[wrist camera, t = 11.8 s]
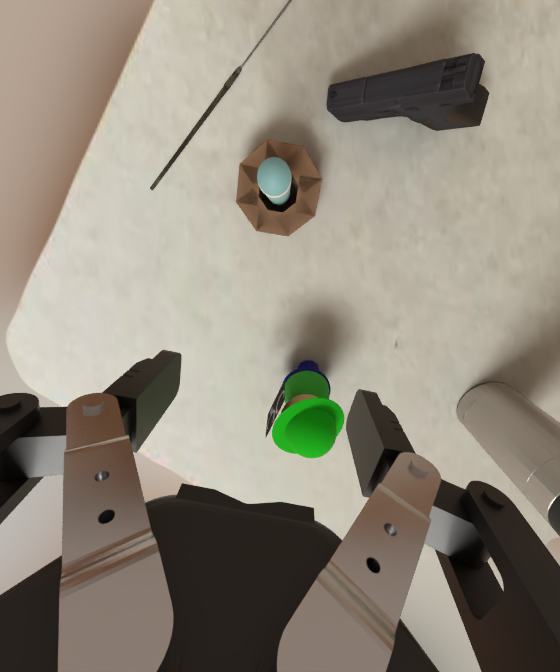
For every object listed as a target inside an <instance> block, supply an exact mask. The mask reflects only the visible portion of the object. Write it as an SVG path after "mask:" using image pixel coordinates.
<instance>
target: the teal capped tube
mask: <svg viewBox="0 0 560 672" xmlns="http://www.w3.org/2000/svg"><path fill="white" fill-rule="evenodd" d="M257 180H258V185H259V187H260V189H261V190H262V192H263V193H264V194H265V195H266V196H267V197H268V198H269V199H270V201H271V202H272V203H273V204H274V205H276V206H283V205H285V204H286V203H287V202H288V201H289V198H290V186H291V171H290V169H289V167H288V165H287V163H286V162H285V161H284V160H282V159H280V158H277V157H271V158H268V159H266V160H264V161H263V162H262V163H261V165H260V167H259V169H258V173H257Z"/></svg>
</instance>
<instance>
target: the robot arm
mask: <svg viewBox="0 0 560 672" xmlns="http://www.w3.org/2000/svg"><path fill="white" fill-rule="evenodd" d="M180 371H181V354H180V353H177V352H172V351H167V350H162V351H161V352H160V353H159V354H158V355H156V356H155V357H154V358H153V359H149V358H147V359H145V360H142V361H140V362H137V363H136V364H135V365H134V366H132V367H131V368H130V369H129V371H127V372H126V373H124V374H123V376H121V377H120V378H119V379H117V380H116V381H115V382H114V383H113V384H112V385H111V386H109V387H108V388H107V389H106V390H105V391H104V392H102V393H92V394H87V395H84V396H81V397H79V398H77V399H75V400H73V401H72V402H71V403H70V404H69V405H68V407H42V408H41V407H40V406H39V400H38V398H37V397H36V396H35V395H32V394H28V393H12V394H6V395H2V396H0V524H1V523H2V522H3V521H4V519H5V518H6V517H7V516H8V515H9V514H10V513H11V512H12V511H13V510H14V509H15V508H16V506H17V505H18V504H19V503H20V502H21V501H22V500H23V499H24V498H25V496H27V494H28V493H29V492H30V491H31V490H32V489H33V488H34V487H35V486H36V485H37V483H38V482H39V481H40V480H41V479H42V478H43V477H44V476H53V475H63V477H64V478H63V534H62V535H63V536H62V540H63V541H62V556H60V557H58V558H57V559H55V560H54V561H52V562H51V563H49V564H48V565H46V566H44V567H43V568H41V569H40V570H38V571H37V572H35V573H34V574H32V575H31V576H29V577H27V578H26V579H24V580H23V581H21V582H20V583H18V584H17V585H15V586H14V587H12V588H10V589H9V590H7V591H6V592H4V593H3V594H1V595H0V672H439V671H438V670H437V668H436V667H435V665H434V664H433V663H432V661H431V660H430V659H429V657H428V656H427V654H426V653H425V652H424V650H423V649H422V648H421V646H420V645H419V644H418V642H417V641H416V639H415V638H414V637H413V635H412V634H411V633H410V631H409V630H408V628H407V627H406V626H405V624H404V623H403V622H402V620H401V619H400V616H401V612H402V610H403V607H404V603H405V600H406V597H407V594H408V591H409V588H410V585H411V582H412V579H413V576H414V573H415V570H416V566H417V563H418V560H419V557H420V554H421V551H422V548H423V545H424V544H426V545H428V546H430V547H432V548H434V549H435V551H436V554H437V556H438V559H439V561H440V564H441V567H442V569H443V572H444V574H445V577H446V579H447V582H448V585H449V588H450V590H451V593H452V595H453V598H454V601H455V603H456V606H457V608H458V611H459V614H460V616H461V619H462V621H463V624H464V627H465V629H466V632H467V635H468V637H469V640H470V642H471V645H472V648H473V650H474V653H475V655H476V658H477V661H478V663H479V666H480V669H481V671H482V672H560V566H559V564H558V563H557V562H556V560H555V559H554V558H553V556H552V555H551V554H550V552H549V551H548V549H547V548H546V547H545V545H544V544H543V543H542V541H541V540H540V538H539V537H538V536H537V534H536V533H535V532H534V530H533V529H532V528H531V526H530V525H529V523H528V522H527V521H526V519H525V518H524V517H523V515H522V514H521V513H520V511H519V510H518V509H517V507H516V506H515V505H514V503H513V502H512V501H511V500H510V499H509V498H508V497H507V496H506V495H505V494H503V493H502V492H501V491H499V490H498V489H496V488H495V487H493V486H491V485H489V484H487V483H484V482H481V481H471V482H470V483H469V484H468V486H467V487H466V489H463V488H460V487H458V486H456V485H453V484H451V483H449V482H446V481H444V480H442V479H441V476H440V473H439V472H438V470H437V469H436V468H435V466H434V465H433V464H432V463H430V462H429V461H428V460H426V459H425V458H423V457H422V456H420V455H417V454H416V453H415V451H414V450H413V448H412V446H411V444H410V442H409V440H408V438H407V436H406V434H405V433H404V432H403V429H402V427H401V425H400V424H399V421H398V419H397V417H396V416H395V414H394V413H393V412H392V411H391V410H390V409H389V408H388V407H387V406H385V405H382V403H381V401H380V399H379V397H378V395H377V393H375V392H370V391H365V390H360V389H359V390H358V391H357V392H356V395H355V398H354V400H353V403H352V406H351V409H350V412H349V414H348V417H347V422H346V431H347V435H348V439H349V443H350V447H351V451H352V455H353V459H354V463H355V467H356V471H357V475H358V479H359V483H360V487H361V491H362V495H363V496H364V497H369V500H368V501H367V503H366V504H365V506H364V507H363V509H362V511H361V512H360V514H359V515H358V517H357V519H356V520H355V522H354V523H353V525H352V526H351V528H350V530H349V531H348V533H347V534H346V536H345V537H344V539H343V541H342V540H341V539H340V538H339V537H338V536H337V535H336V534H335V533H334V532H332V531H331V530H330V529H328V528H327V527H326V526H324V525H322V524H321V523H319V522H317V521H315V520H314V508H311V507H306V506H300V505H295V504H290V503H284V502H274V503H259V504H245V503H243V502H241V501H238V500H236V499H234V498H232V497H230V496H228V495H225V494H223V493H221V492H219V491H217V490H215V489H209V488H204V487H198V486H193V485H187V484H182V485H181V487H180V489H179V492H178V494H177V495H169V496H164V497H160V498H156V499H153V500H151V501H148V502H146V503H145V501H144V497H143V493H142V489H141V484H140V480H139V476H138V472H137V468H136V463H135V459H134V455H133V452H137V451H138V450H139V448H140V447H141V445H142V444H143V443H144V441H145V440H146V438H147V437H148V435H149V434H150V433H151V431H152V430H153V428H154V427H155V425H156V424H157V423H158V421H159V420H160V418H161V417H162V415H163V414H164V413H165V411H166V410H167V408H168V407H169V405H170V404H171V403H172V401H173V400H174V398H175V397H176V395H177V392H178V389H179V384H180ZM457 416H458V418H459V420H460V422H461V423H462V424H463V425H464V426H465V428H466V429H467V430H468V431H469V432H470V433H471V435H472V436H473V437H474V438H475V439H476V441H477V442H478V443H479V444H480V445H481V446H482V447H483V449H484V450H485V451H486V452H487V453H488V454H489V456H490V457H491V458H492V459H493V460H494V461H495V462H496V464H497V465H498V466H499V467H500V468H501V469H502V470H503V472H504V473H505V474H506V475H507V476H508V477H509V479H510V480H511V481H512V482H513V483H514V484H515V485H516V487H517V488H518V489H519V490H520V491H521V492H522V494H523V495H524V496H525V497H526V498H527V499H528V500H529V501H530V503H531V504H532V505H533V506H534V507H535V508H536V509H537V511H538V512H539V513H540V514H541V515H542V516H543V518H544V519H545V520H546V521H547V522H548V523H549V524H550V526H551V527H552V528H553V529H554V530H555V531H556V532H557V534H558V535H559V536H560V423H559V422H558V421H557V420H555V419H554V418H553V417H551V416H550V415H548V414H547V413H546V412H544V411H543V410H542V409H540V408H539V407H537V406H536V405H535V404H533V403H532V402H531V401H529V400H528V399H527V398H525V397H524V396H522V395H520V394H519V393H518V392H516V391H515V390H514V389H512V388H511V387H509V386H508V385H506V384H503V383H498V382H490V383H485V384H482V385H479V386H477V387H475V388H473V389H471V390H470V391H469V392H467V393H466V394H465V395H464V396H463V397H462V399H461V400H460V402H459V404H458V407H457ZM490 557H491V558H492V559H493V561H494V563H495V565H496V567H497V569H498V570H499V572H500V574H501V577H502V579H503V584H504V591H503V590H502V588H501V586H500V584H499V583H498V581H497V579H496V577H495V575H494V573H493V571H492V569H491V567H490V565H489V564H488V562H487V561H488V559H489V558H490Z"/></svg>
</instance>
